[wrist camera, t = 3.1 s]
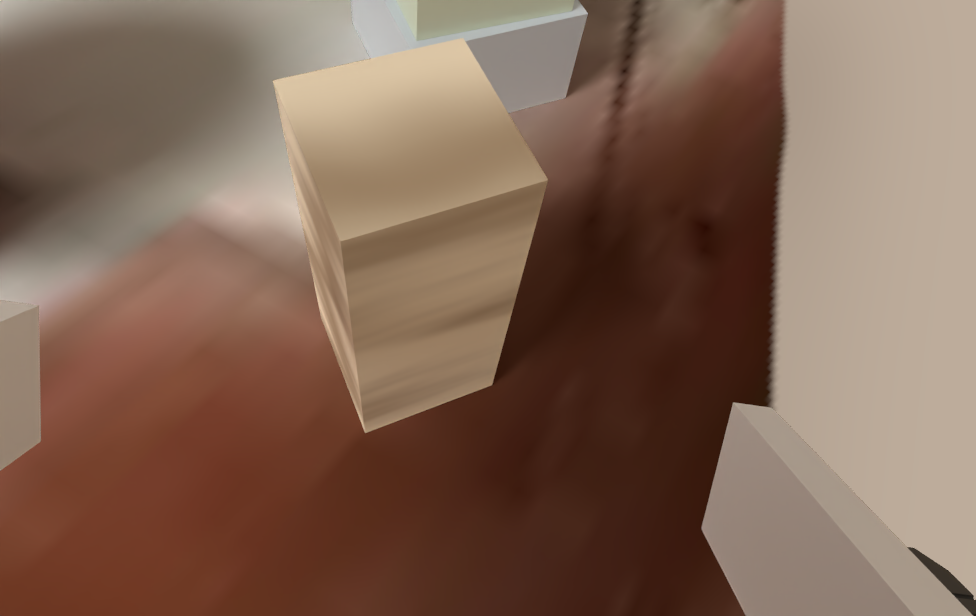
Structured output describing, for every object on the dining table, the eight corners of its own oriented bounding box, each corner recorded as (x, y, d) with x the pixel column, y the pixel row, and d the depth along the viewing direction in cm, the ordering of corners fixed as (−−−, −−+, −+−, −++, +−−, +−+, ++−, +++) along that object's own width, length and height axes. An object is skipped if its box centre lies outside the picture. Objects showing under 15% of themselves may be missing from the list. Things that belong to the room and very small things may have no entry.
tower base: (352, 25, 36) (345, -69, 32) (496, -5, 38) (508, -96, 34) (410, 140, 33) (412, 53, 28) (564, 100, 35) (588, 13, 31)
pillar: (321, 318, 28) (272, 80, 17) (441, 279, 29) (463, 37, 19) (365, 433, 26) (340, 241, 15) (491, 385, 27) (548, 179, 17)
